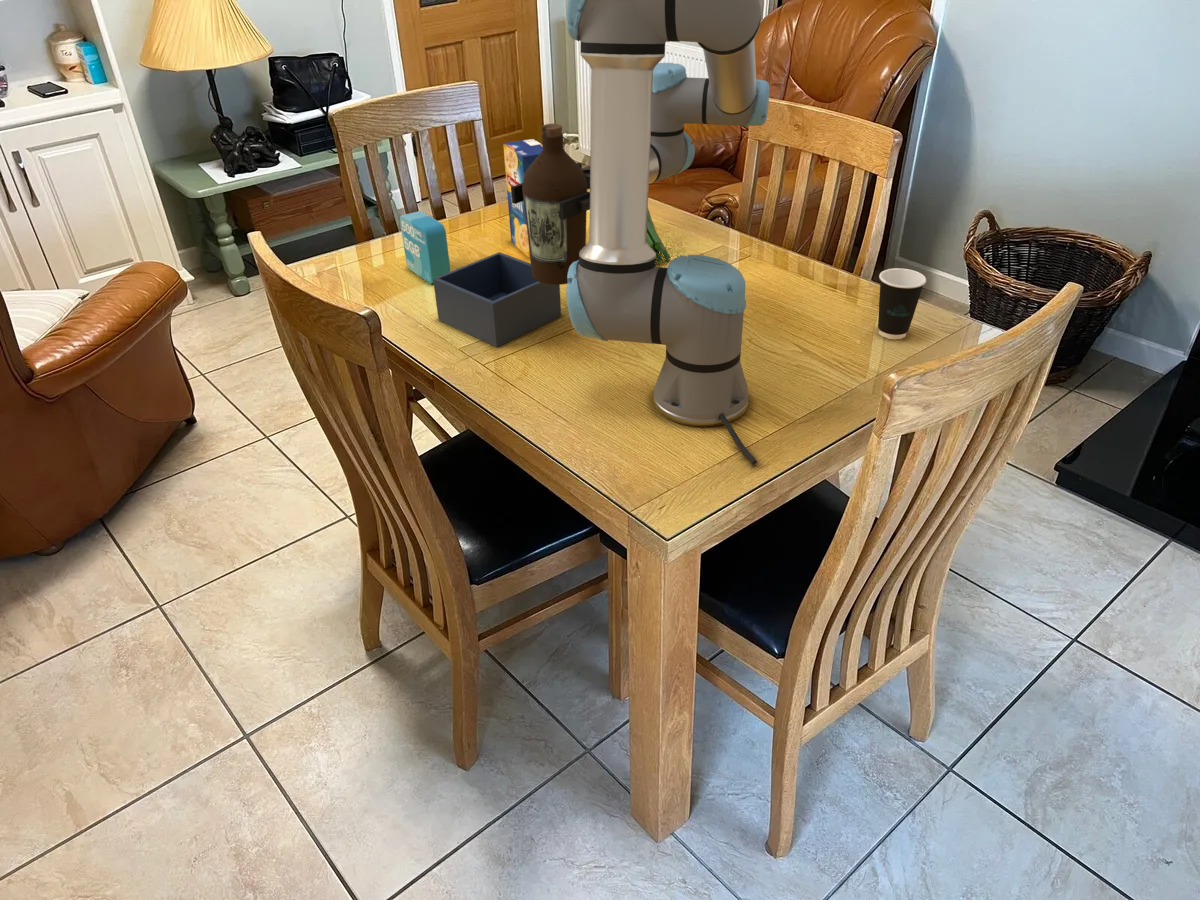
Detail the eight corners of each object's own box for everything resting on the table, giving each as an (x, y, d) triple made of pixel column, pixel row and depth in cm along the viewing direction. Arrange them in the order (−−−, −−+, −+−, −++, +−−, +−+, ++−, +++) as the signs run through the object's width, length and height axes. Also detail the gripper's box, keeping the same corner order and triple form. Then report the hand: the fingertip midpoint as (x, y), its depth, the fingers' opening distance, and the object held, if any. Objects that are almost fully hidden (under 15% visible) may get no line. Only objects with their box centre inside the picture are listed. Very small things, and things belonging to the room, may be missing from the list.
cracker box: (538, 236, 204) (532, 138, 192) (558, 252, 196) (553, 151, 183) (511, 241, 202) (503, 143, 189) (529, 258, 194) (522, 156, 181)
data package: (406, 268, 191) (398, 213, 184) (425, 262, 193) (418, 208, 186) (432, 286, 183) (425, 230, 176) (452, 280, 185) (445, 224, 178)
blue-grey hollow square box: (561, 315, 170) (559, 274, 165) (496, 347, 160) (492, 303, 155) (502, 292, 180) (499, 251, 175) (438, 320, 170) (432, 278, 165)
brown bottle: (543, 258, 160) (535, 114, 145) (598, 266, 157) (595, 120, 142) (517, 281, 152) (506, 132, 137) (575, 290, 149) (569, 138, 134)
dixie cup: (888, 347, 158) (899, 289, 151) (860, 328, 164) (870, 272, 158) (924, 338, 160) (936, 281, 154) (895, 320, 166) (906, 264, 160)
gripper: (677, 205, 152) (589, 242, 139) (580, 177, 166) (491, 209, 152) (678, 161, 148) (587, 195, 135) (579, 136, 161) (487, 165, 148)
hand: (536, 203), depth 144 cm, fingers closed on brown bottle, 11 cm apart
